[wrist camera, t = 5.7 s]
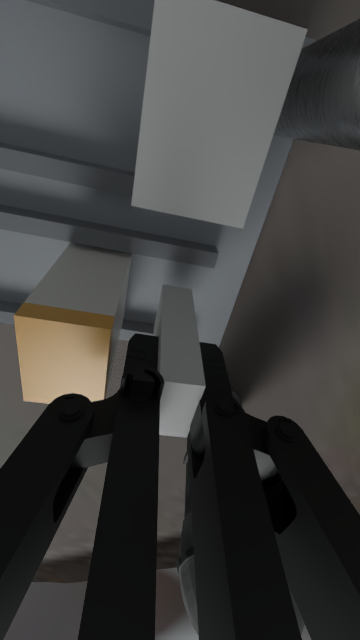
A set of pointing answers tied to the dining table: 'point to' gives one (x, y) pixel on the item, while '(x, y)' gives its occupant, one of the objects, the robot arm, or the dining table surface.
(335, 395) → the dining table surface
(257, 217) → the panel
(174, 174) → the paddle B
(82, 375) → the grey orange block
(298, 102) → the post
